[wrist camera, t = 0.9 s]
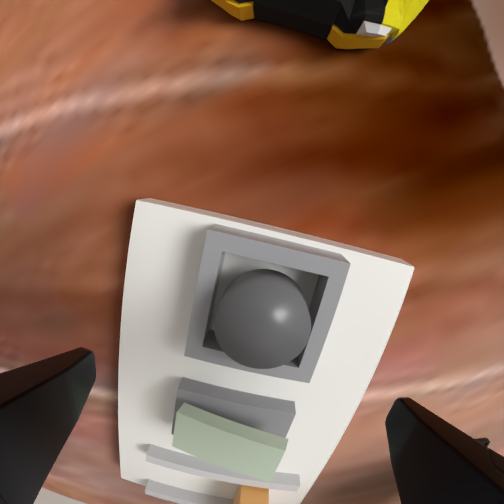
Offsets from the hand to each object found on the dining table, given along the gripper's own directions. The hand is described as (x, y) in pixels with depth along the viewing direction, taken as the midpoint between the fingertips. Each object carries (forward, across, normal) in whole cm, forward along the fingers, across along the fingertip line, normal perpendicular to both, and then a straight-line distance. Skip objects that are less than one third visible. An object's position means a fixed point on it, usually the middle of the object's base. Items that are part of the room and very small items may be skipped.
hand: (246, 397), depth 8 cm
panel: (+10, 0, +8) cm, 13 cm away
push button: (+7, -1, 0) cm, 7 cm away
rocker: (+5, 0, +8) cm, 10 cm away
